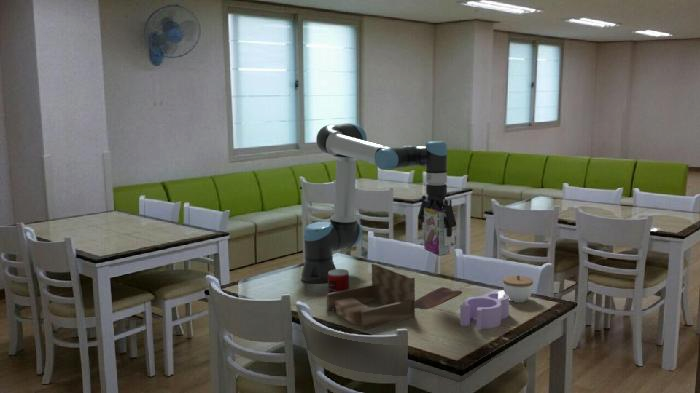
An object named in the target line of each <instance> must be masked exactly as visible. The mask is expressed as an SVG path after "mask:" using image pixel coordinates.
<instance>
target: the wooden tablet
mask: <svg viewBox="0 0 700 393" xmlns="http://www.w3.org/2000/svg"><path fill="white" fill-rule="evenodd" d="M462 293H463V291H462V290H461V289H460V290H459V289H457V290H456V289H455V290H452V289H451V288H449V287H443V286H441V287H439V288H436V289H435V290H432V291H430V292H428V293H426V294H424V295H423V296H421V297H419V298H418V299H415V309H420V310H429V309H432V308H434V307H438V306H439V305H441V304H443V303H444V302H446V301H448V300H450V299H453V298H454V297H457V296H458V295H461V294H462Z"/></svg>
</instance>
